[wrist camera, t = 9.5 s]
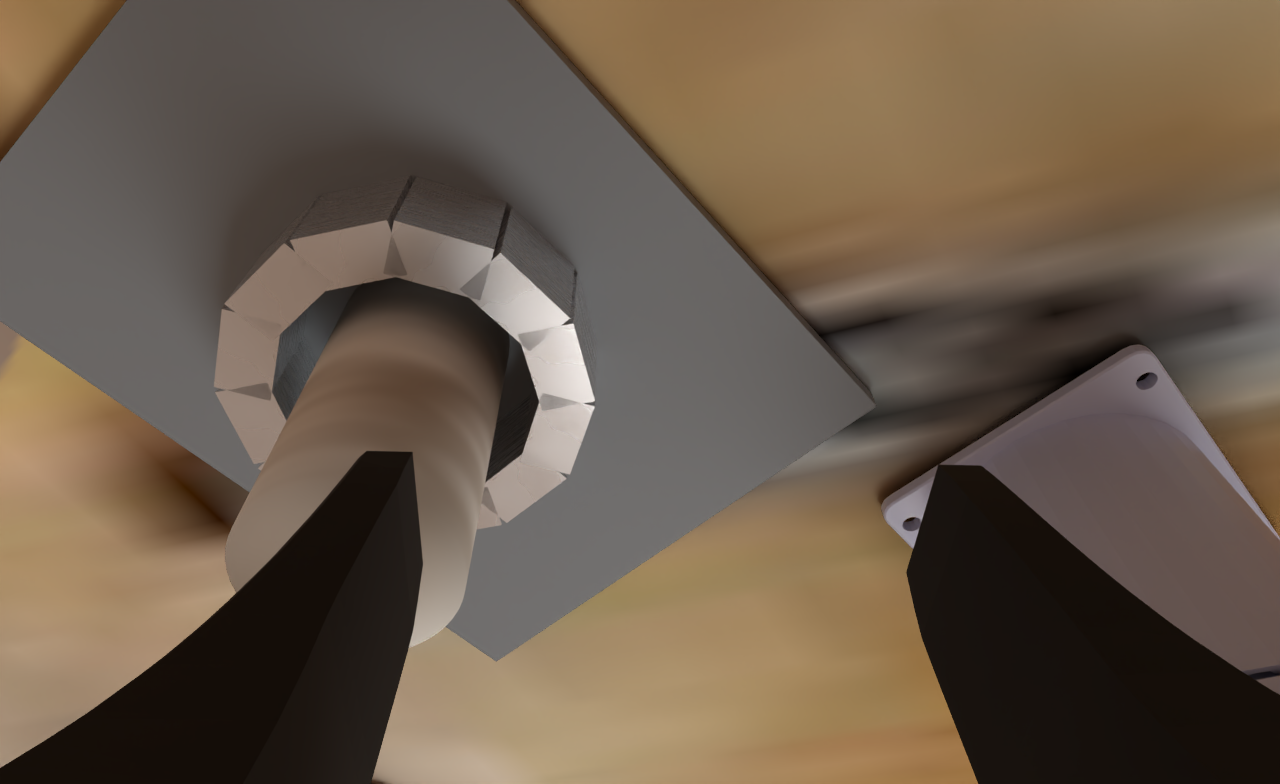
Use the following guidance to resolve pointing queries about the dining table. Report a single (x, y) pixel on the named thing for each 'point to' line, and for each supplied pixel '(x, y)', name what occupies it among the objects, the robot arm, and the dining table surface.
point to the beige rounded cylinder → (390, 431)
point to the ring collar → (433, 256)
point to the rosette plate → (274, 197)
